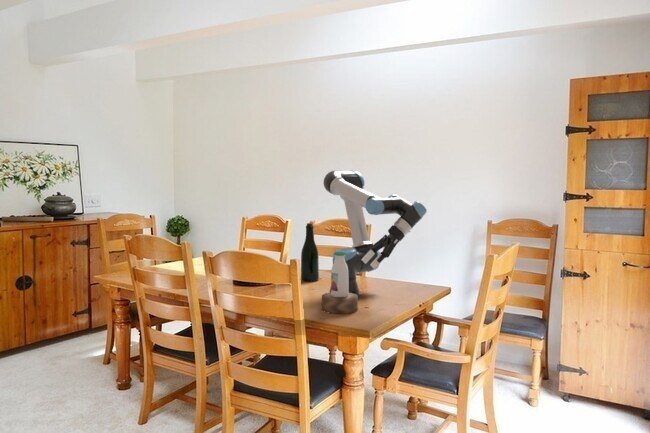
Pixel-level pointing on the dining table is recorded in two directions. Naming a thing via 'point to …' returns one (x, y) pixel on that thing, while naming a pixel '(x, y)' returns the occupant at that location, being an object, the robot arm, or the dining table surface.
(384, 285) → the dining table surface
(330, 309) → the walnut stand
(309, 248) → the dark green wine bottle
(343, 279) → the milk bottle
